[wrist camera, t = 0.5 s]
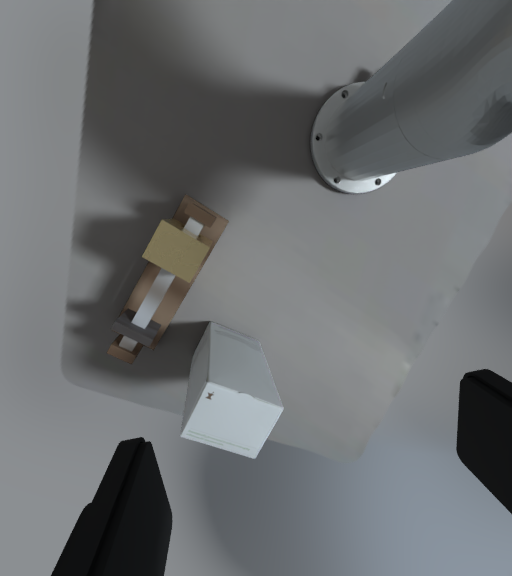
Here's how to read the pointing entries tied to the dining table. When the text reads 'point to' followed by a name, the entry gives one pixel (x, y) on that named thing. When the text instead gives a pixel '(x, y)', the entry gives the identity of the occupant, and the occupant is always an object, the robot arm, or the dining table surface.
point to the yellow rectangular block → (177, 249)
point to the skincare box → (230, 393)
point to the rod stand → (161, 289)
